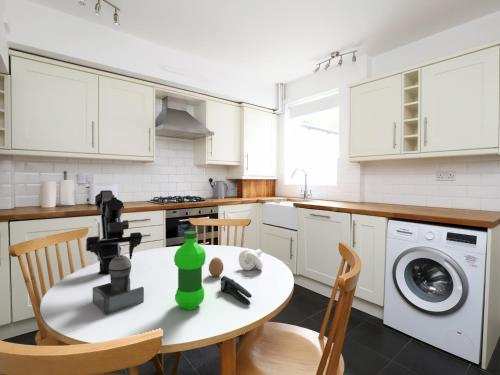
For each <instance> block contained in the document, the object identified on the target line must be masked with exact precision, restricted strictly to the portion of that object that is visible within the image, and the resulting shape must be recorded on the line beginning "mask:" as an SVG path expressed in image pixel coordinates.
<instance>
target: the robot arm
mask: <svg viewBox="0 0 500 375" xmlns="http://www.w3.org/2000/svg"><path fill="white" fill-rule="evenodd" d="M94 207H96V211H97V212H98V213H99V214H100V221H101V234H102V235H101V236H102V237H101V239H100V236H99V235H98V236H97V235H95V236H88V237H86V240H85V242H86V243H85V250H86V252H90V253H94V255H95V256H96V257H97V261H99V272H97V274H98V275H107V274H109V270H108V268H109V264H110V262H111V260H112V259H113V258H114V257H116V256H118V243H119V244H123V243H129V246H128V251H129V252H128V254H129V257H128V258H129V260H132V257H133V253H134V249H135V248H137V247H138V246H139V245H141V242H142V239H143V235H142V233H141V232H140V231H138V232H137V231H136V232H130V234H129V236H124V235H125V232H124V231H125V230H128V229H129V226H130V224H129V219H127V220H121V217H122V215H123V214H122V213H123V210H124V209H125V205H124V203H123V201H122V200H120V199H118V198H117V196H116V197H115V195H114V193H113V190H110V189H109V190H106V189H104V190H100V191H99V193H98V194H96V195H95V198H94ZM119 247H120V253H121V251H122V248H121V246H120V245H119ZM109 275H110V274H109Z"/></svg>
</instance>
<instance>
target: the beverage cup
mask: <svg viewBox="0 0 500 375" xmlns="http://www.w3.org/2000/svg"><path fill="white" fill-rule="evenodd" d="M119 246H120V243H118V256H116V257H114V258H113V259H112V260H111V262H110V264H109V268H108V270H109V278H110V283H111V289H112V295H116V294H119V293H122V292H126V291H128V289H129V278H130V279H131V276H130V275H131V270H132V262H131V259H130V257H128V256H127V255H122V254H121V252H120V247H121V246H120V247H119Z"/></svg>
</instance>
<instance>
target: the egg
mask: <svg viewBox="0 0 500 375" xmlns="http://www.w3.org/2000/svg"><path fill="white" fill-rule="evenodd" d="M223 271H224V263H223V260H222V259H221V258H219V257H213V258H212V259H211V260H210V261H209V264H208V272H209V274H210V275H211V276H213V277H219V276H221V275H222V273H223Z"/></svg>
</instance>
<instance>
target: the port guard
mask: <svg viewBox="0 0 500 375" xmlns="http://www.w3.org/2000/svg"><path fill="white" fill-rule="evenodd" d="M144 289H145V287H144V286H139V287H135V288H133V289H131V277H130V278H129V289H128V291H126V292H122V293H119V294H116V295H112V289H111V282H109V283H105V284H101V285H97V286H94V287H92V303H93V304H94V305H95V306H97V308H98V309H99V310H100V311H101V312H102V313H103V314H104V315H105V316H106V315H109V314H113V313H114V312H118V311H121V310H125V309H127V308H130V307H133V306H136V305H138V304H141V303H144V302H145V298H144V297H145V295H144V294H145V293H144V292H145V290H144Z"/></svg>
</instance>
